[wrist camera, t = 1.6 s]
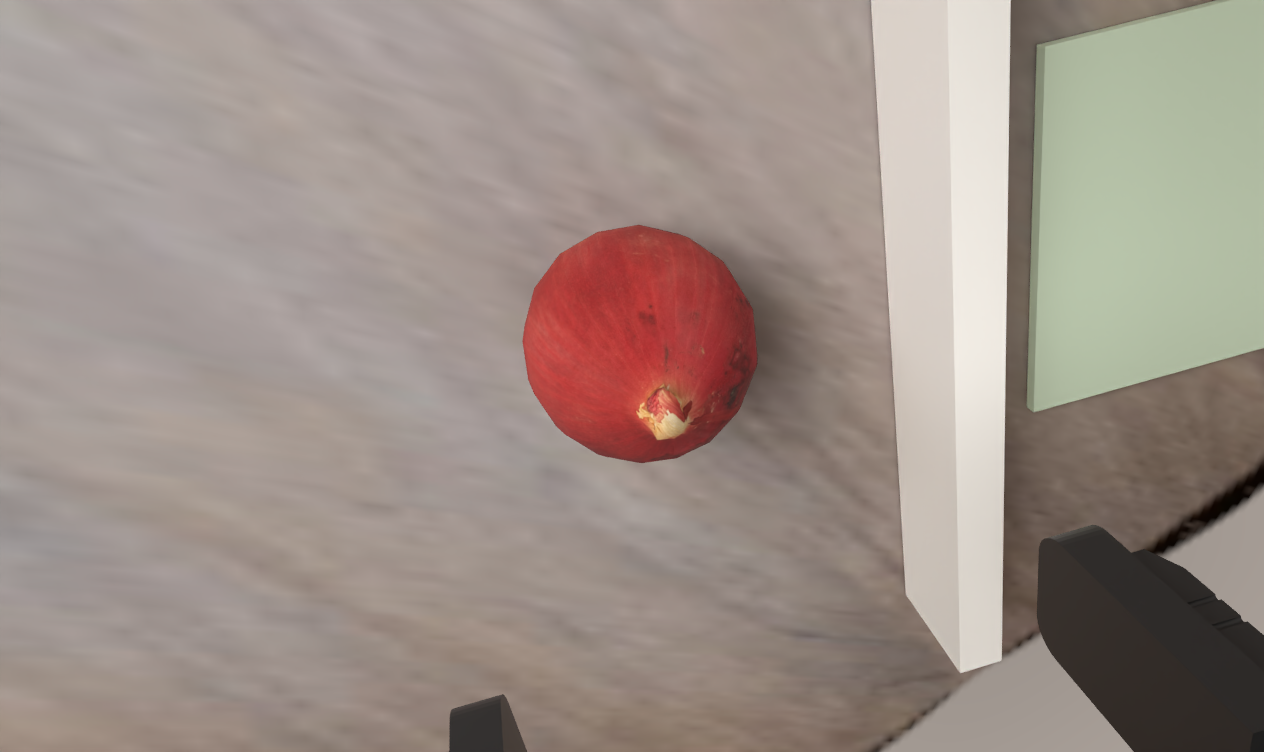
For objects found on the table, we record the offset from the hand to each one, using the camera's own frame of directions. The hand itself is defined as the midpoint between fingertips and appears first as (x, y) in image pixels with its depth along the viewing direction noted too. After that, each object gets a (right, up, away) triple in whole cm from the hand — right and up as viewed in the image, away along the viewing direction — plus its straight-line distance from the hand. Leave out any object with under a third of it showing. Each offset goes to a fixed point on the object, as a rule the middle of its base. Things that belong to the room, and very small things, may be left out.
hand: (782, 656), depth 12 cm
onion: (-3, +7, +13) cm, 15 cm away
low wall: (+6, +7, +14) cm, 17 cm away
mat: (+16, +10, +15) cm, 24 cm away
